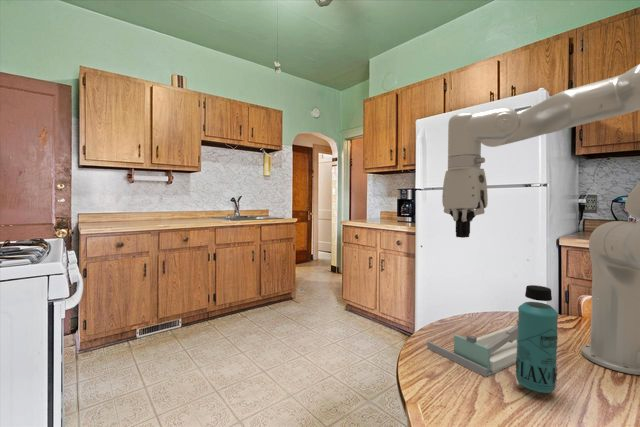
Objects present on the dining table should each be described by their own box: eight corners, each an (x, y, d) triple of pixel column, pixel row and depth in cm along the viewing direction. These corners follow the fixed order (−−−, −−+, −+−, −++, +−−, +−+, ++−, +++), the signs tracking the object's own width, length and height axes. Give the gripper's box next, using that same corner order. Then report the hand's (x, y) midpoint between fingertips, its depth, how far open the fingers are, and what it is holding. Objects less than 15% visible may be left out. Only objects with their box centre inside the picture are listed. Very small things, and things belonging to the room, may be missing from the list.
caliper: (521, 341, 80) (522, 317, 80) (526, 343, 79) (526, 318, 79) (471, 361, 70) (472, 333, 70) (476, 363, 69) (476, 335, 69)
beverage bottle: (507, 385, 61) (509, 284, 61) (529, 378, 64) (531, 280, 63) (542, 405, 55) (545, 293, 55) (565, 396, 58) (568, 289, 57)
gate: (490, 371, 66) (490, 343, 66) (486, 372, 65) (487, 344, 65) (456, 355, 73) (457, 329, 73) (453, 356, 72) (453, 330, 72)
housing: (549, 347, 78) (550, 337, 78) (485, 377, 64) (486, 365, 64) (490, 327, 91) (490, 318, 91) (427, 348, 77) (427, 338, 77)
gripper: (502, 162, 75) (500, 239, 75) (448, 168, 88) (447, 233, 88) (483, 159, 71) (481, 241, 71) (429, 166, 84) (428, 235, 84)
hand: (462, 236), depth 80 cm, fingers closed
